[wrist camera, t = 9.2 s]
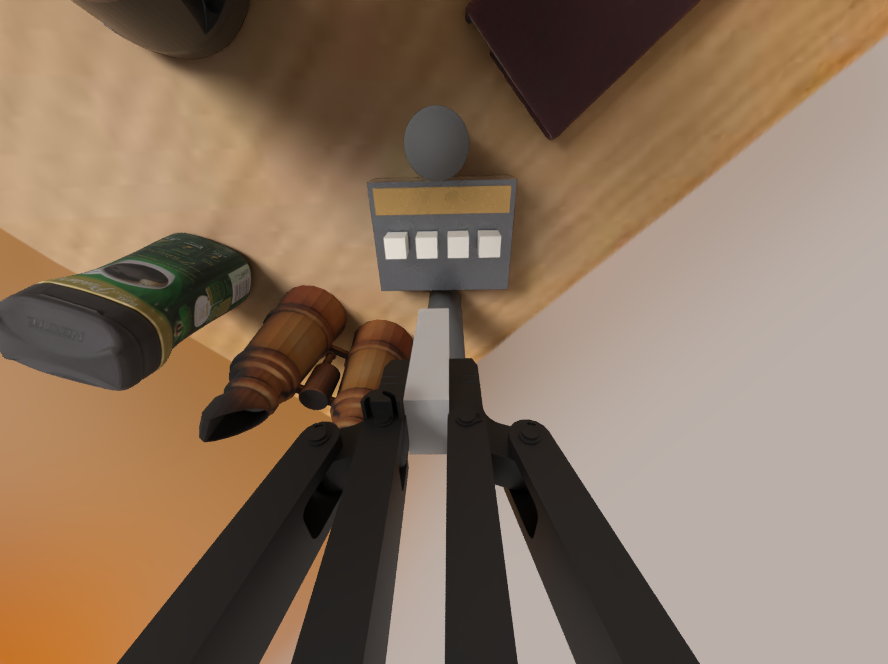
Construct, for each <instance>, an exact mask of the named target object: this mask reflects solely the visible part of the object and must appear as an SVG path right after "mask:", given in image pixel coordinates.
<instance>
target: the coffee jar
mask: <svg viewBox="0 0 888 664" xmlns="http://www.w3.org/2000/svg"><path fill="white" fill-rule="evenodd" d="M250 288H251V270H250V267H249V264H248V263H247V261H246V260H245V258H244V257H243V256H242V255H241V254H239V253H238V252H236V251H234V250H232V249H230V248H228V247H226V246H224V245H222V244H219V243H217V242H214V241H211V240H209V239H206V238H203V237H200V236H196V235H192V234H187V233H175V234H172V235H169V236H167V237H165V238H162V239H160V240H158V241H156V242H154V243H152V244H150V245H148V246H146V247H144V248H142V249H140V250H138V251H136V252H134V253H132V254H129V255H127V256H125V257H123V258H121V259H118V260H116V261H114V262H112V263H109V264H107V265H105V266H102V267H99V268H97V269H94V270H91V271H88V272H85V273H81V274H77V275H72V276H67V277H62V278H56V279H51V280H46V281H43V282H40V283H37V284H35V285H32V286H30V287H28V288H26V289H24V290H22V291H20V292H18V293H16V294H13V295H11V296H9V297H7V298H5V299H4V300H3V301H1V302H0V352H1V354H2V356H3V357H4V358H6V359H9V360H14V361H17V362H19V363H21V364H23V365H26V366H28V367H31V368H33V369H36V370H38V371H41V372H44V373H47V374H51V375H55V376H58V377H61V378H65V379H69V380H72V381H76V382H80V383H84V384H88V385H92V386H97V387H101V388H104V389H109V390H118V391H121V390H126V389H129V388H131V387H133V386H134V385H136V384H138V383H139V382H140V381H141V380H142V379H144V378H146V377H147V376H149V375H150V374H152V373H153V372H155V371H157V370H158V369H160V368H161V367H162V366H163V365H164V363H165V362H166V361H167V359H168V358H169V356H170V354H171V351H172V349H173V348H174V347H175V346H176V345H177V344H179V343H180V342H181V341H183V340H184V339H185V338H187V337H188V336H190V335H191V334H193V333H194V332H196V331H197V330H199V329H200V328H202V327H204V326H205V325H207V324H208V323H210V322H212V321H213V320H215V319H217V318H218V317H220V316H222V315H224V314H225V313H227V312H229V311H230V310H232V309H234V308H235V307H237V306H238V305H239V304H241V303H242V302H243V301H245V300H246V298H247V297H248V295H249V292H250Z"/></svg>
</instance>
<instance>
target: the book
mask: <svg viewBox="0 0 888 664" xmlns="http://www.w3.org/2000/svg"><path fill="white" fill-rule="evenodd" d="M699 1H700V0H471V2H470V3H469V4H468V6H467V7H466V12H465V20H466V22H468V23H469V24H470V23H471V21H472V22H473V24H474V25H475V27H476V28H477V30H478V31H479V33H480V34H481V35H482V37H483V38H484V40H485V41H486V43H487V44H488V46H489V47H490V56H491V57H492V58H493V60H494V61H495V63H496V64H497V66H498V67H499V68H500V70H501V71H502V73H503V74H504V76H505V78H506V80H507V81H508V83H509V84H510V85H511V86H512V88H513V90H514V91H515V93H516V94H517V96H518V97H519V99H520V100H521V101H522V102H523V104H524V105H525V107H526V108H527V110H528V112H529V113H530V115H531V116H532V118H533V119H534V121H535V122H536V123H537V125H538V126H539V128H540V129H541V130H542V132H543V133H544V135H545V136H546V137H547V138H548V139H549V140H551V139H555V138H556V137H558V136H559V135H560V134H561V133H562V132H563V131H564V130H565V129H566V128H567V127H568V126H569V125H570V124H571V123H572V122H573V121H574V120H575V119H577V118H578V117H579V116H580V115H581V114H582V113H583V112H584V111H585V110H586V109H587V108H588V107H589V106H590V105H591V104H592V103H593V102H594V101H595V100H596V99H597V98H598V97H599V96H600V95H601V94H602V93H604V92H605V91H606V90H607V89H608V88H609V87H610V86H611V85H612V84H613V83H614V82H615V81H616V80H617V79H618V78H619V77H621V76H622V75H623V74H624V73H625V72H626V71H627V70H628V69H629V68H630V67H631V66H632V65H633V64H634V63H635V62H636V61H637V60H638V59H639V58H640V57H641V56H642V55H644V54H645V53H646V52H647V51H648V50H649V49H650V48H651V47H652V46H653V45H654V44H655V43H656V42H657V41H658V40H659V39H660V38H661V37H662V36H663V35H664V34H665V33H667V32H668V31H669V30H670V29H671V28H672V27H673V26H674V25H675V24H676V23H677V22H678V21H679V20H680V19H681V18H683V17H684V16H685V15H686V14H687V13H688V12H689V11H690V10H691V9H692V8H693V7H694V6H695V5H696V4H697V3H698V2H699Z"/></svg>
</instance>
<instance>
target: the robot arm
mask: <svg viewBox="0 0 888 664" xmlns="http://www.w3.org/2000/svg"><path fill="white" fill-rule="evenodd" d="M72 1H73V2H74V3H76V4H77V5H78V6H80V7H81V8H83V9H84V10H85V11H87V12H88V13H90V14H91V15H92V16H94V17H95V18H97V19H98V20H99V21H100V22H101V23H103V24H104V25H105V26H106V27H108V28H109V29H111V30H112V31H114V32H115V33H117V34H118V35H120V36H122V37H123V38H125V39H127V40H129V41H131V42H133V43H134V44H137V45H139V46H141V47H143V48H146V49H149V50H152V51H155V52H158V53H162V54H165V55H168V56H172V57H176V58H183V59H198V58H203V57H207V56H210V55H212V54H215V53H217V52H218V51H220V50H221V49H223V48H224V47H225V46H227V45H228V44H229V43H230V42H231V40H232V39H233V38H234V37H235V35H236V34H237V33H238V31H239V29H240V27H241V25H242V23H243V21H244V19H245V16H246V13H247V9H248V6H249V1H250V0H72ZM360 404H361V409H362V413H363V418H364V420H363V421H361V422H360V423H358V424H355V425H352V426H349V427H345V428H341V429H339V428H338V426H337V425H336V424H334V423H332V422H319V423H315V424H313V425H311V426H309V427H308V428H306V429H305V430H304V431H303V432H302V433H301V434H300V435H299V437H298V438H297V439H296V440H295V442H294V443H293V444H292V446H291V447H290V448H289V449H288V450H287V452H286V453H285V454H284V455H283V457H282V458H281V459H280V460H279V462H278V463H277V464H276V465H275V467H274V468H273V469H272V470H271V472H270V473H269V474H268V475H267V477H266V478H265V479H264V480H263V482H262V483H261V484H260V485H259V487H258V488H257V489H256V490H255V492H254V493H253V494H252V495H251V497H250V498H249V499H248V500H247V502H246V503H245V504H244V505H243V507H242V508H241V509H240V510H239V512H238V513H237V514H236V515H235V517H234V518H233V519H232V520H231V522H230V523H229V524H228V526H227V527H226V528H225V529H224V530H223V532H222V533H221V534H220V535H219V537H218V538H217V539H216V540H215V542H214V543H213V544H212V545H211V547H210V548H209V549H208V550H207V552H206V553H205V554H204V555H203V557H202V558H201V559H200V560H199V562H198V563H197V564H196V565H195V567H194V568H193V569H192V570H191V572H190V573H189V574H188V575H187V577H186V578H185V579H184V580H183V582H182V583H181V584H180V585H179V587H178V588H177V589H176V590H175V592H174V593H173V594H172V595H171V597H170V598H169V599H168V600H167V602H166V603H165V604H164V605H163V607H162V608H161V609H160V610H159V612H158V613H157V614H156V615H155V617H154V618H153V619H152V620H151V622H150V623H149V624H148V625H147V627H146V628H145V629H144V630H143V632H142V633H141V634H140V635H139V637H138V638H137V639H136V640H135V642H134V643H133V644H132V645H131V647H130V648H129V649H128V650H127V652H126V653H125V654H124V655H123V657H122V658H121V659H120V660H119V662H118V663H117V664H259V663H260V661H261V659H262V657H263V655H264V653H265V652H266V650H267V648H268V646H269V644H270V642H271V640H272V639H273V637H274V635H275V633H276V631H277V629H278V627H279V625H280V623H281V622H282V620H283V618H284V616H285V614H286V612H287V610H288V608H289V607H290V604H291V602H292V600H293V599H294V597H295V595H296V593H297V591H298V590H299V588H300V585H301V584H302V582H303V580H304V578H305V576H306V574H307V573H308V571H309V569H310V567H311V565H312V563H313V561H314V559H315V558H316V556H317V554H318V552H319V550H320V548H321V546H322V544H323V542H324V541H325V539H326V537H327V535H328V533H329V531H330V529H331V532H330V535H329V539H328V542H327V545H326V548H325V552H324V555H323V558H322V562H321V566H320V568H319V572H318V575H317V579H316V582H315V585H314V588H313V592H312V595H311V599H310V602H309V605H308V609H307V612H306V615H305V619H304V622H303V626H302V629H301V632H300V635H299V639H298V642H297V645H296V649H295V652H294V655H293V659H292V662H291V664H385V662H386V653H387V645H388V635H389V628H390V620H391V611H392V603H393V594H394V586H395V578H396V570H397V561H398V553H399V544H400V536H401V528H402V519H403V510H404V503H405V494H406V485H407V477H408V468H409V467H408V451H409V452H410V454H447V503H446V505H447V508H446V512H447V513H446V603H445V607H446V608H445V609H446V612H445V664H518V662H517V654H516V647H515V638H514V630H513V623H512V616H511V607H510V599H509V591H508V584H507V576H506V569H505V560H504V553H503V545H502V537H501V530H500V522H499V514H498V506H497V498H496V490H495V484H496V485H499V486H502V487H504V490H505V493H506V495H507V497H508V500H509V502H510V505H511V507H512V510H513V512H514V514H515V517H516V519H517V521H518V524H519V527H520V528H521V531H522V533H523V536H524V539H525V541H526V543H527V545H528V548H529V550H530V553H531V556H532V558H533V560H534V563H535V565H536V568H537V570H538V572H539V575H540V577H541V580H542V582H543V585H544V587H545V589H546V592H547V594H548V597H549V599H550V601H551V604H552V606H553V609H554V611H555V614H556V616H557V618H558V621H559V623H560V625H561V628H562V630H563V633H564V635H565V638H566V640H567V642H568V645H569V647H570V650H571V652H572V655H573V657H574V659H575V662H576V664H700V663H699V662H698V660H697V659H696V657H695V656H694V654H693V653H692V651H691V649H690V648H689V646H688V645H687V643H686V642H685V640H684V639H683V637H682V636H681V634H680V632H679V631H678V630H677V628H676V626H675V625H674V623H673V622H672V620H671V619H670V617H669V616H668V614H667V612H666V611H665V609H664V608H663V606H662V605H661V603H660V602H659V600H658V599H657V597H656V595H655V594H654V593H653V591H652V589H651V588H650V586H649V585H648V583H647V582H646V580H645V579H644V577H643V576H642V574H641V572H640V571H639V569H638V568H637V566H636V565H635V563H634V562H633V560H632V559H631V557H630V555H629V554H628V552H627V551H626V550H625V548H624V546H623V545H622V543H621V542H620V540H619V539H618V537H617V535H616V534H615V532H614V531H613V529H612V528H611V526H610V525H609V523H608V522H607V520H606V519H605V517H604V515H603V514H602V512H601V511H600V509H599V508H598V506H597V505H596V503H595V502H594V500H593V498H592V497H591V495H590V494H589V492H588V491H587V489H586V488H585V486H584V485H583V483H582V482H581V480H580V479H579V477H578V475H577V474H576V472H575V471H574V469H573V468H572V466H571V465H570V463H569V462H568V460H567V458H566V457H565V455H564V454H563V452H562V451H561V449H560V448H559V446H558V445H557V443H556V442H555V440H554V438H553V437H552V435H551V434H550V432H549V431H548V430H547V429H546V428H545V427H544V426H543V425H541V424H540V423H538V422H536V421H532V420H519V421H517V422H514V423H513V424H512V425H511V426H507V425H504V424H500V423H497V422H495V421H493V420H492V419H490V418H489V417H488V416H487V415H486V414H485V412H484V410H483V405H482V397H481V389H480V383H479V374H478V366H477V364H476V363H475V362H474V360H473V359H472V358H458V359H450V349H449V308H436V309H419V313H418V319H417V324H416V330H415V336H414V341H413V347H412V353H411V359H410V360H391V361H390V362H389V363H388V364H387V365H386V366H385V367H384V370H383V374H382V378H381V381H380V385H379V388H378V389H375V390H373V391H370V392H368V393H367V394H366V395H365V396H363V398H362V399H361V401H360ZM331 527H332V528H331Z"/></svg>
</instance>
